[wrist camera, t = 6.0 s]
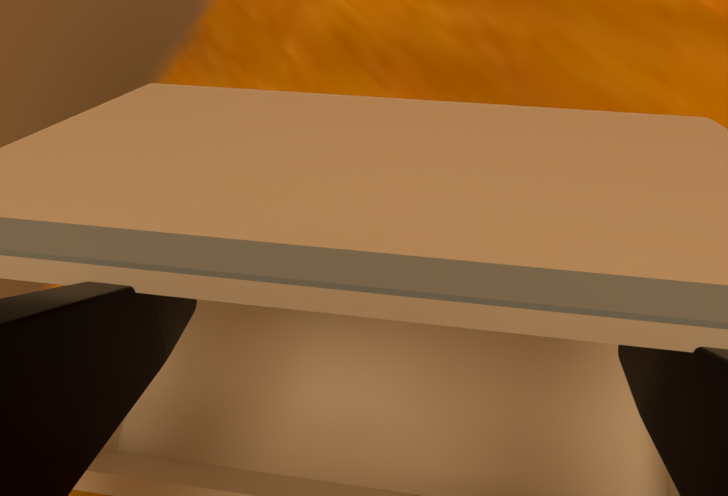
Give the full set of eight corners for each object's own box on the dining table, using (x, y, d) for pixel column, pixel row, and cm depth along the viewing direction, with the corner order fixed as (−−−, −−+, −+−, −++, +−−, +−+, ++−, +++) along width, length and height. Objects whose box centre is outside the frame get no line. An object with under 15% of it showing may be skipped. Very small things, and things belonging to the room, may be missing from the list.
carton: (678, 546, 17) (761, 594, 13) (107, 463, 19) (34, 483, 15) (657, 188, 21) (717, 144, 17) (182, 152, 23) (138, 105, 19)
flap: (1114, 397, 7) (1154, 366, 6) (-183, 258, 9) (-205, 228, 8) (701, 131, 17) (708, 113, 16) (153, 96, 19) (150, 79, 18)
